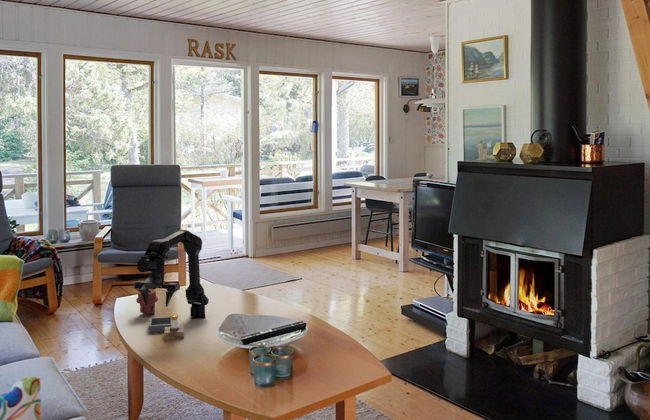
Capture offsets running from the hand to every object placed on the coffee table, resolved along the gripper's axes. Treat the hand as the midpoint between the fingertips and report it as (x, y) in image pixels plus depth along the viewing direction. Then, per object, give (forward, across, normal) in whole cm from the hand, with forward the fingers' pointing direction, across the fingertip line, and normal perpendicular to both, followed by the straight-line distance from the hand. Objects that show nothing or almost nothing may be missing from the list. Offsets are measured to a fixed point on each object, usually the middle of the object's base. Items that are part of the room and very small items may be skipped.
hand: (156, 305), depth 256 cm
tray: (+12, -2, +14) cm, 19 cm away
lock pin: (+13, +7, +3) cm, 16 cm away
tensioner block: (+13, +7, +3) cm, 16 cm away
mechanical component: (+11, -18, +31) cm, 37 cm away
